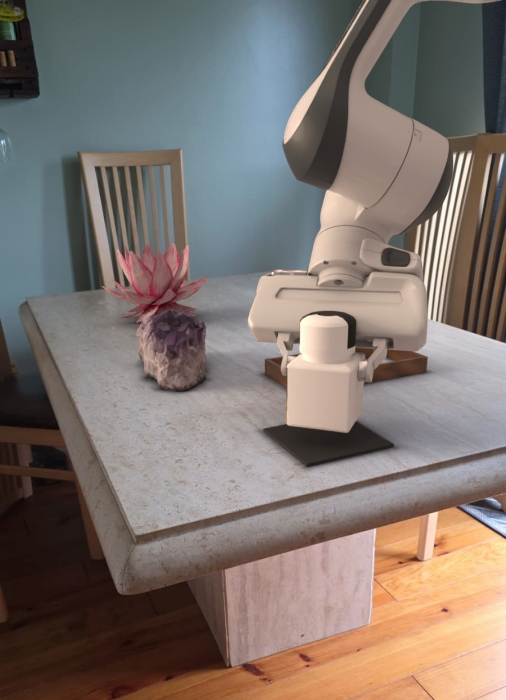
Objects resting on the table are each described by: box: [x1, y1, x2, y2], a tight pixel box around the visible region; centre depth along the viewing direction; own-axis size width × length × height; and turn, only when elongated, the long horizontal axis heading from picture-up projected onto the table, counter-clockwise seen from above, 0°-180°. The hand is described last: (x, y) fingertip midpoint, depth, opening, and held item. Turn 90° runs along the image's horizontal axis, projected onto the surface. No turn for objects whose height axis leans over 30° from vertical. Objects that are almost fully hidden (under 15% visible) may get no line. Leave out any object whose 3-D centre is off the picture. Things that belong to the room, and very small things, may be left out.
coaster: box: [262, 420, 395, 468], centre depth 72 cm, size 11×11×1 cm
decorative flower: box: [101, 242, 209, 324], centre depth 130 cm, size 21×21×15 cm
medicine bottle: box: [286, 311, 366, 433], centre depth 68 cm, size 7×7×12 cm
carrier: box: [264, 348, 429, 389], centre depth 94 cm, size 22×11×2 cm, turn 114°
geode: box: [136, 310, 207, 393], centre depth 96 cm, size 20×12×10 cm, turn 14°
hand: (325, 376), depth 68 cm, fingers closed on medicine bottle, 7 cm apart
